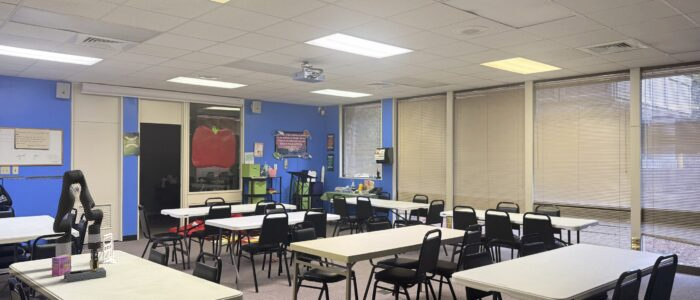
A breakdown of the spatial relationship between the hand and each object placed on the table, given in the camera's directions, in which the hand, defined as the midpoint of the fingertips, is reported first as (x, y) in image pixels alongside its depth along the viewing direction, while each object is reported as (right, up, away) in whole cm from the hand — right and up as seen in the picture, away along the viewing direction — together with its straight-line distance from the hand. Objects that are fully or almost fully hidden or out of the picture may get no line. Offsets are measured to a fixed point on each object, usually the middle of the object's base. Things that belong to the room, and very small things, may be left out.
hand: (94, 267), depth 310 cm
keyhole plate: (-4, -6, -3) cm, 8 cm away
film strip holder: (-13, -7, +45) cm, 47 cm away
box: (-25, -6, +7) cm, 26 cm away
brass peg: (0, -6, 0) cm, 6 cm away
